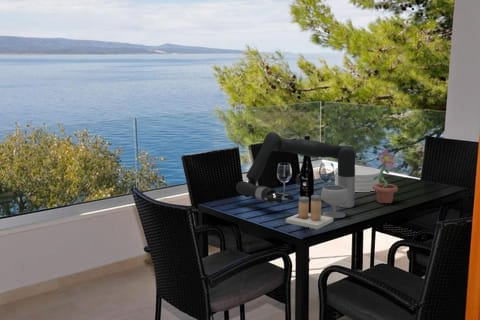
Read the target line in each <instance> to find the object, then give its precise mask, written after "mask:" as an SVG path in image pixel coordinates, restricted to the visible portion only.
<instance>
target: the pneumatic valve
mask: <svg viewBox="0 0 480 320" xmlns="http://www.w3.org/2000/svg"><path fill="white" fill-rule="evenodd" d="M300 174H301V173H300ZM300 174H299V173H298V174H297V175H296V178H295V183H296V185H298V186H301V185H300ZM315 179H316V177H314V181H315Z"/></svg>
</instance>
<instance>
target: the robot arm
mask: <svg viewBox="0 0 480 320" xmlns="http://www.w3.org/2000/svg"><path fill="white" fill-rule="evenodd" d="M272 152H283V153H285V152H286V153H292V154H296V155H301V156H304V157H305V156H306V157H310V158H331V159H335V160H337V168H338V185H339V186H344V187H346V189H347V191H348V199H347V200H346V201H345V202H344V203H342V204H340V205H338V206H337V207H339V208H344V209H345V208H347V209H349V208H353V207H355V195H356V193H355V166H356V157H357V151H356V149H355V148H353V147H352V146H350V145H340V144H339V145H337V144H331V143H330V144H329V143H326V142H321V141H318V140H312V139H304V138H303V139H301V138H299V139H291V138H289V139H288V138H285V137H281V136H280V135H279V134H278V133H277V132H273V131H270V132H269V133H267V134H266V135H265V137H264V139H263V142H262V145H261V147H260V149H259V152H257V155H256V158H255V159H254V161H253V162H252V164H251V166H250V168H249V170H248V171H247V173H246V178H247V180H248V181H243V180H241V181H239V182H237V184H236V187H235V188H236V191H237V192H238V193H239V194H241V195H242V196H244V197H245V198H249V197H251V198H254V199H257V200H259V201H263V202H266V203H270V204H273V203H279V204H282V203H283V201H284V200H289V201H294V200H295V199H294V197H295V196H293V195H291V193H289V192H284V191H281V192H277V191H276V190H275V189H274V188H271V187H267V186H262V185H261V186H260V185H257V183H258V180H259V179H260V177H261V175H262V173H263V171H264V169H265V167H266V164H267V161H268V159H269V157H270V155H271V154H272Z"/></svg>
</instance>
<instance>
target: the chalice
mask: <svg viewBox="0 0 480 320" xmlns="http://www.w3.org/2000/svg"><path fill="white" fill-rule="evenodd" d="M320 192H321V193H320V195H321V201H323V202H325V203H326V204H328V205H330V207H331V209H332V210H331V211H324V212H323V213H321V215H322V216H327V217H332V218H333V219H341V218H345V217H346V214H345V213H344V212H341V211H337V207H339V206H338V205H340V204H342V203H344V202H345V201H346V200H347V199H348V191H347V189H346V187H344V186H339V185H335V184H330V185H329V184H327V185H324V186H322V189H321V191H320Z"/></svg>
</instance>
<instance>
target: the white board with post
mask: <svg viewBox="0 0 480 320" xmlns="http://www.w3.org/2000/svg"><path fill="white" fill-rule="evenodd" d="M298 216H299V213H297V214H294V215H292V216H289V217H287V218H285V223H286V224H290V225H294V226H300V227H304V228H308V227H309V229H314V230H319V229H322V228H323V227H325V226H327V225H329V224H331V223H333V222H334V218H332V217H327V216H323V215H322V198H321V194H311V196H310V212H309V215H308V219H306V220H305V219H300V218H298Z"/></svg>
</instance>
